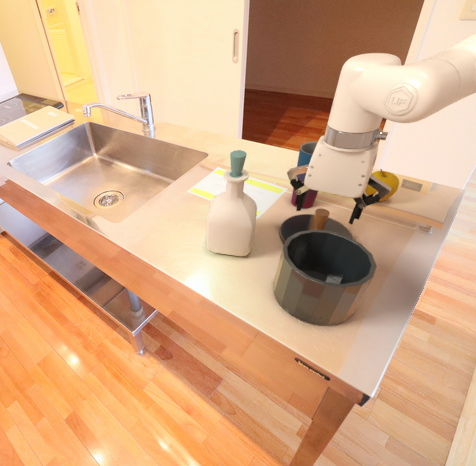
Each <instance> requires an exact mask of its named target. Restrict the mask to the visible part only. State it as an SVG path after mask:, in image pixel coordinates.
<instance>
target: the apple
mask: <svg viewBox="0 0 476 466" xmlns="http://www.w3.org/2000/svg"><path fill="white" fill-rule="evenodd" d="M371 175H373V176H374V177H376V178H378V179H379V180H381V181H382V182H384V183H385V184H387V185H388V186H390V187H391V192H390V193H389V194H388V195H387V196H385V197H384V198H382V199H381V200H379V202H384V201H386V200H388V199H390V198H391V197H392V196H394V195H395V194H396V193H397V191H398V189H399V186H400V179H399V178H398V176H397V175H396V174H394V173H392V172H390V171H385V170H383V169H382V168H380V169H379V170H376V171H374V172H372V174H371ZM376 192H377V190H376V189H374V188H373V187H371V186H370V185H367V187H366V189H365V193H366V194H367V196H369V195H371V194H374V193H376Z"/></svg>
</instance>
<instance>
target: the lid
mask: <svg viewBox="0 0 476 466" xmlns="http://www.w3.org/2000/svg"><path fill="white" fill-rule="evenodd" d="M330 214H331V213H330V210H329V209H326V208H321V207H319V208H316V210H315V211H314V214H311V213H305V214H296V215H293V216H290V217H288V218H287V219H285V220H284V221H283V222H282V223H281V225H280V229H279V235H280V238H281V240H282V241H283V243H285V242H286V240H287V239H288V238H289V237H291V236H292V235H294V234H296V233H298V232H301V231H307V230H327V231H332V232H335V233H339V234H342V235H345V236H348V237H350V238H351V239H353V240H354V237H353V234H352V233H351V231H350V230H349V229H348V228H347V227H346V226H345V225H344V224H342V223H341V222H339V221H337V220H336V219H333V218H331V217H329V216H330Z"/></svg>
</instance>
